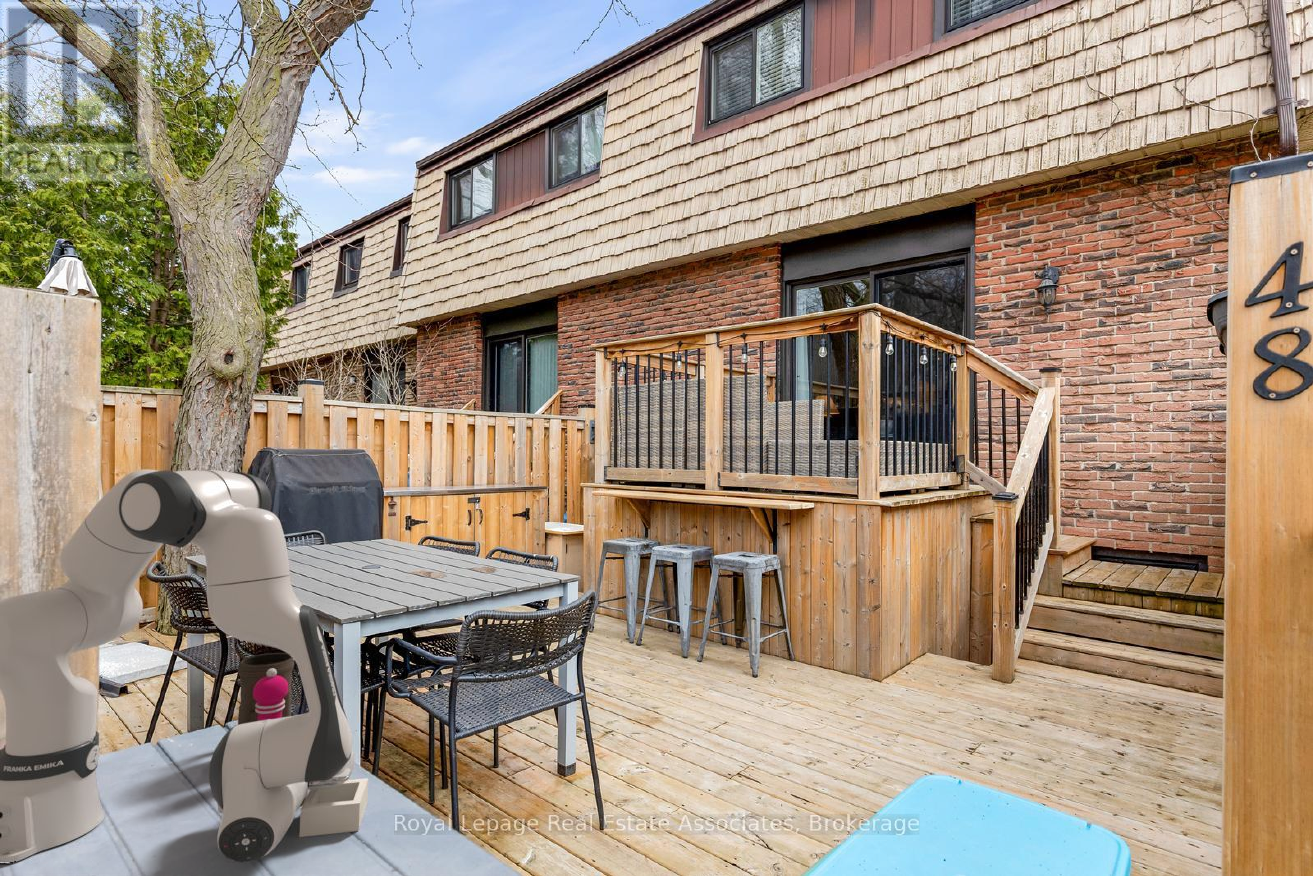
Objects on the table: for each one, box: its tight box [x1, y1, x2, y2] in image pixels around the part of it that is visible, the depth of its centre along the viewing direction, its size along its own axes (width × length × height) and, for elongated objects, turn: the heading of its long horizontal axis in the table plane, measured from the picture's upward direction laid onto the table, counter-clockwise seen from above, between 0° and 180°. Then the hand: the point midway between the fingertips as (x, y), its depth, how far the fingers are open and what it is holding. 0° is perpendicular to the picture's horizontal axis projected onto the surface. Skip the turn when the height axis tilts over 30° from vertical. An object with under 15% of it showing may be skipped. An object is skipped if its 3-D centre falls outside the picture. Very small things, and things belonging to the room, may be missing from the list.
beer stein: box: [237, 652, 295, 725], centre depth 141 cm, size 15×11×20 cm
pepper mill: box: [253, 668, 288, 721], centre depth 132 cm, size 7×7×20 cm
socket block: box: [299, 777, 369, 838], centre depth 115 cm, size 9×9×4 cm
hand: (299, 751), depth 123 cm, fingers open, 5 cm apart
